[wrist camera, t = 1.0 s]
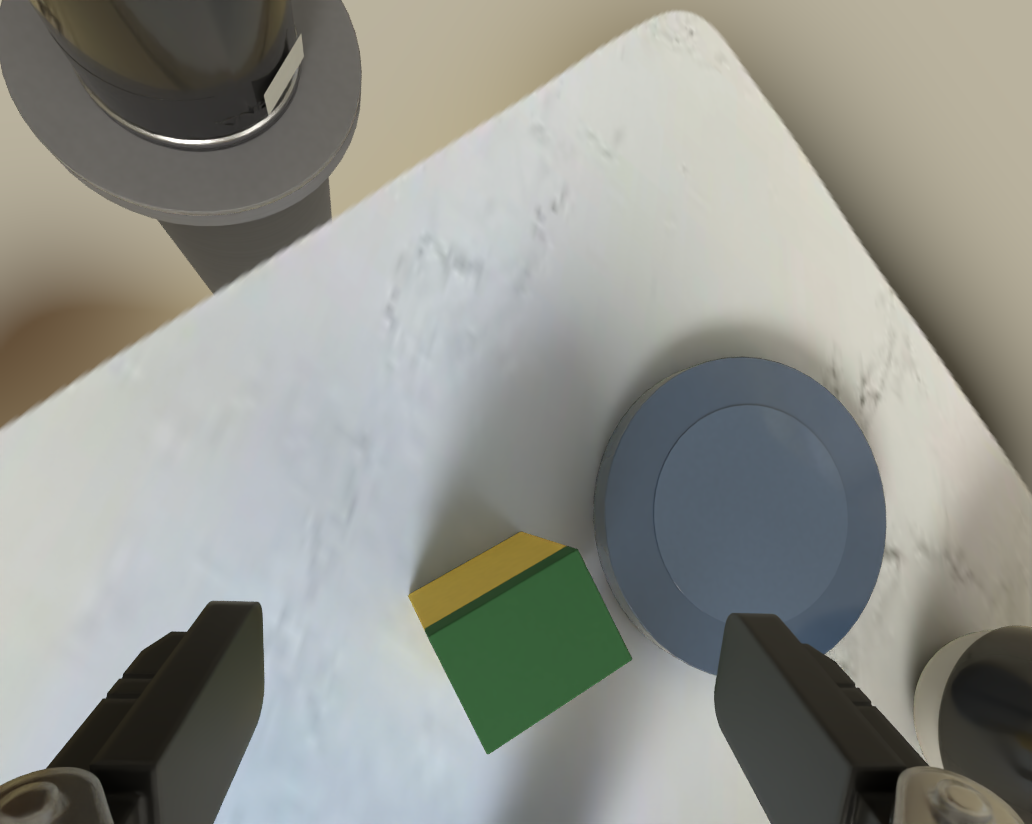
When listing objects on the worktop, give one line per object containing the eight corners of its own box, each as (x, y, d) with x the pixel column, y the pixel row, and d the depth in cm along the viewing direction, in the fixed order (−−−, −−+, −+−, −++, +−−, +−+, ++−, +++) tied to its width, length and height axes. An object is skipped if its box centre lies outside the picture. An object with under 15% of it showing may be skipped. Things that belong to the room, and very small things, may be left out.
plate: (528, 525, 31) (537, 528, 29) (721, 300, 35) (738, 292, 33) (752, 737, 33) (772, 750, 31) (913, 501, 37) (937, 503, 35)
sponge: (407, 594, 29) (427, 636, 22) (521, 530, 31) (577, 548, 23) (452, 682, 29) (487, 756, 22) (562, 614, 31) (633, 659, 23)
